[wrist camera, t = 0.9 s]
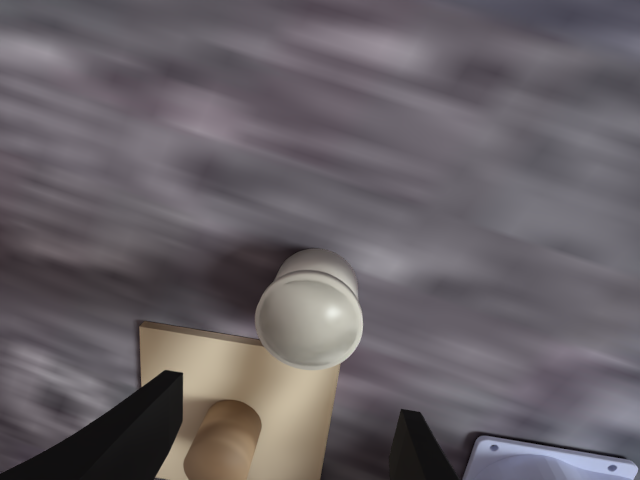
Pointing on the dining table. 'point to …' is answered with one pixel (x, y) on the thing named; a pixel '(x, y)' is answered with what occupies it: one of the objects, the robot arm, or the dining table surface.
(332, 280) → the cap
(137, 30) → the dining table surface
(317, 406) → the square wooden board
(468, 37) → the dining table surface
